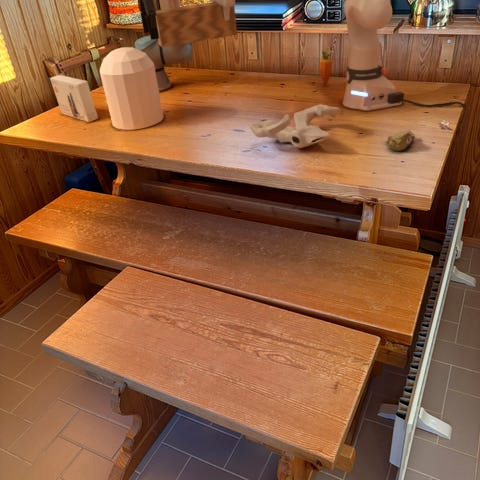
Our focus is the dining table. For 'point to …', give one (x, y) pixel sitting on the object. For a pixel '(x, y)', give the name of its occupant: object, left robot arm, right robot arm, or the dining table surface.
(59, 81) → the skincare box
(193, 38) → the box
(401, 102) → the right robot arm
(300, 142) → the beige branched piece
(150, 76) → the container
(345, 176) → the dining table surface
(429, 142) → the dining table surface
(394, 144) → the rock
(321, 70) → the carrot
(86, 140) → the dining table surface
